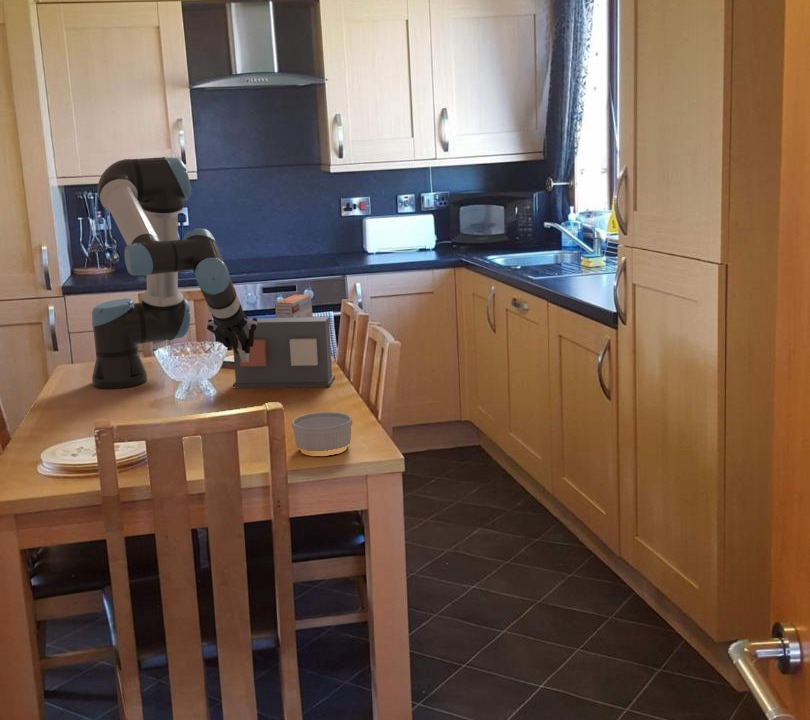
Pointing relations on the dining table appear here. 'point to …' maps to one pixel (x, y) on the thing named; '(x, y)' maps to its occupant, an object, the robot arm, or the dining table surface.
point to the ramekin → (322, 431)
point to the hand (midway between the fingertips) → (246, 358)
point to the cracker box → (294, 307)
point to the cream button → (303, 352)
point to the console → (287, 354)
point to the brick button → (257, 354)
